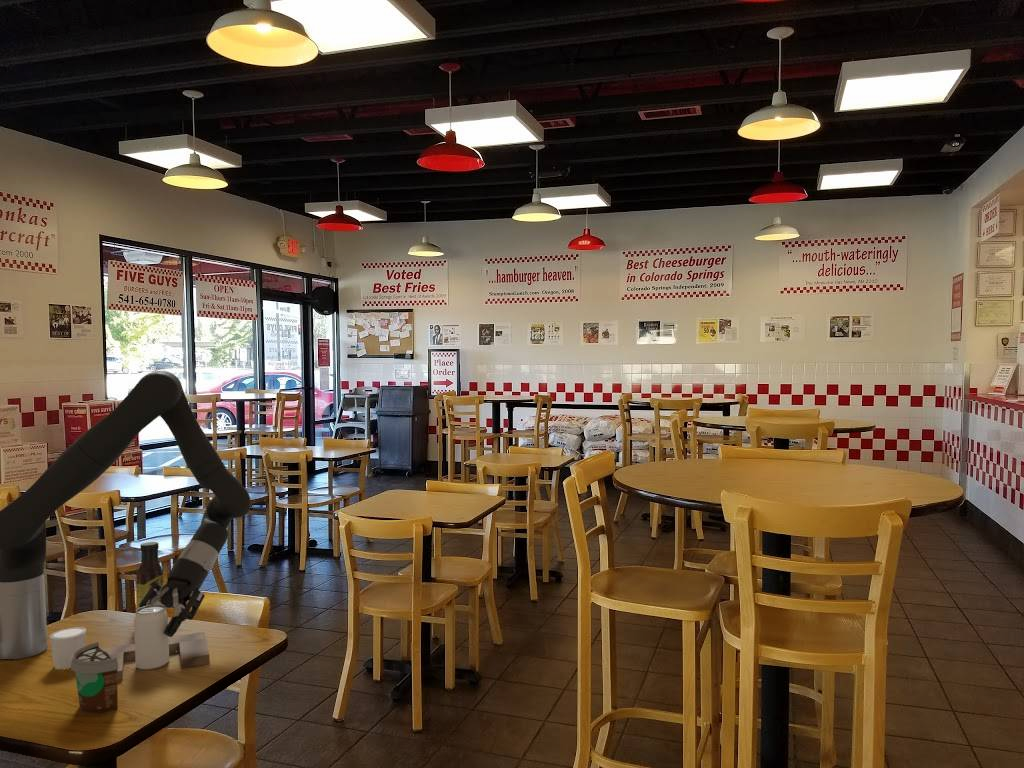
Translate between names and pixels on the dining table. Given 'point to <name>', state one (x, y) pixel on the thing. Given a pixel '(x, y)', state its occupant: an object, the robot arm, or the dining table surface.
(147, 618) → the can
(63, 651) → the white short cylinder
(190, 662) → the notched board
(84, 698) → the food container
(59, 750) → the dining table surface
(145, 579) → the sauce bottle
